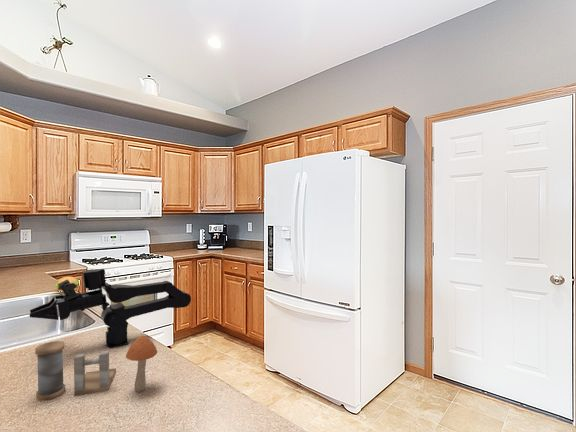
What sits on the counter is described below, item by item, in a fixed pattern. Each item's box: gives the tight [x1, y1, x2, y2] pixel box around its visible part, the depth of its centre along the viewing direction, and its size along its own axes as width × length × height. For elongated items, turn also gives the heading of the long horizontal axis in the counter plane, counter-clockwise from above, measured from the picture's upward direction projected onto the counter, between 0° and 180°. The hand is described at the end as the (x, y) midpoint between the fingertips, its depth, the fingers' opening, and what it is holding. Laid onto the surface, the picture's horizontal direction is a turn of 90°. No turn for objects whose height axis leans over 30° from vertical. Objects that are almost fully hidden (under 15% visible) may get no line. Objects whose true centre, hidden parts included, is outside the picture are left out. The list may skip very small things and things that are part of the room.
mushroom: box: [125, 334, 158, 393], centre depth 90 cm, size 8×8×15 cm
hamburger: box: [55, 275, 80, 292], centre depth 203 cm, size 12×12×9 cm
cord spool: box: [34, 340, 66, 402], centre depth 88 cm, size 6×6×13 cm
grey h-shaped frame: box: [73, 350, 117, 397], centre depth 94 cm, size 11×8×10 cm
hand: (29, 313), depth 106 cm, fingers open, 9 cm apart
